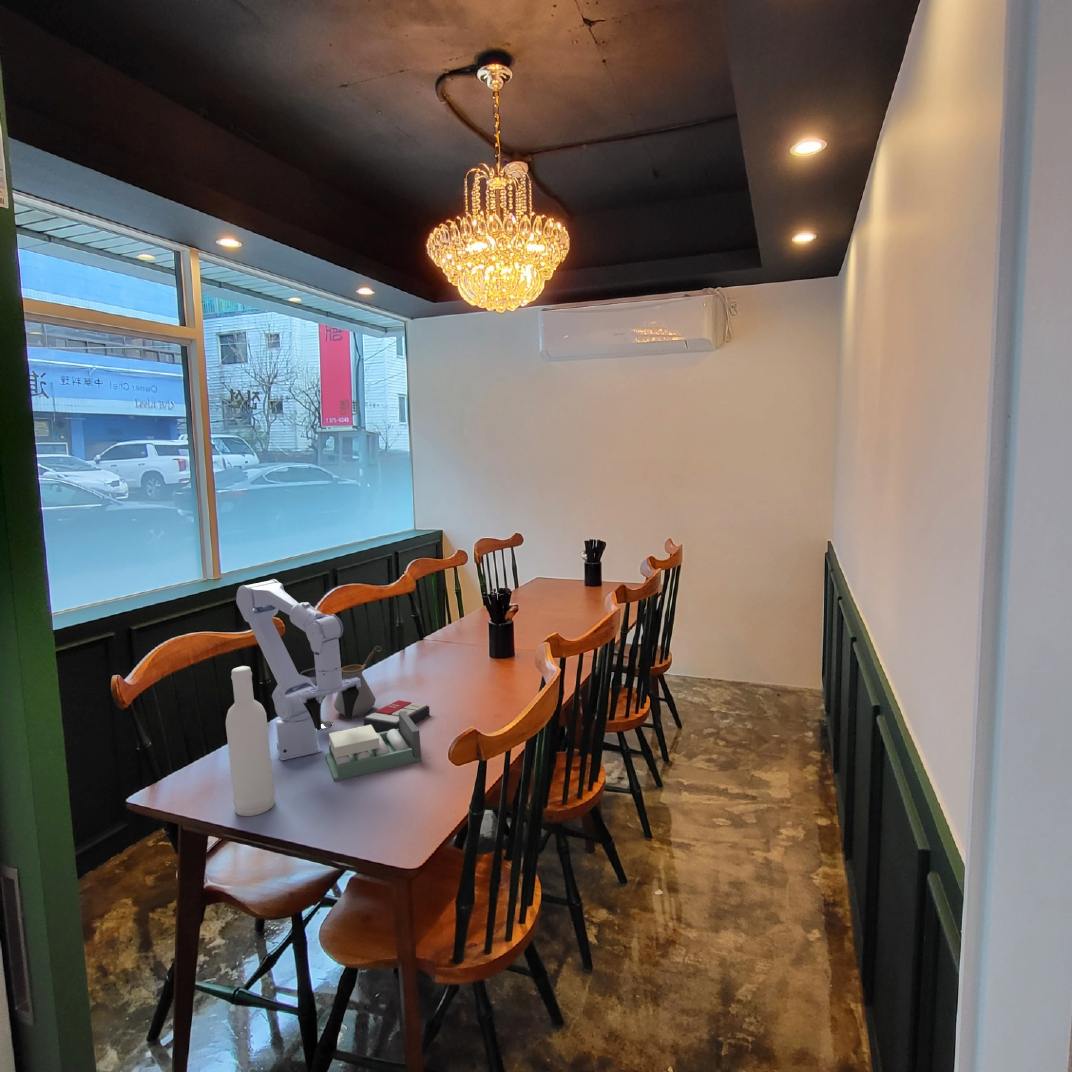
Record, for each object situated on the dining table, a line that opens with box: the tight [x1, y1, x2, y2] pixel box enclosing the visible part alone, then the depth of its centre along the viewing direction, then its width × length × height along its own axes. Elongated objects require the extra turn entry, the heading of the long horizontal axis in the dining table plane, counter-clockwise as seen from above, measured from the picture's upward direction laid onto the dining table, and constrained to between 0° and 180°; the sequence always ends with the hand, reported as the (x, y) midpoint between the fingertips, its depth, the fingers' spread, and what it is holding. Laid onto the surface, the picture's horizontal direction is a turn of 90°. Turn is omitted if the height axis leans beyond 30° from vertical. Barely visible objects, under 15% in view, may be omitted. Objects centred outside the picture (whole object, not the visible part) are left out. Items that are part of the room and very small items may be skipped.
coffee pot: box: [333, 645, 383, 718], centre depth 195 cm, size 21×12×15 cm, turn 164°
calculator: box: [363, 699, 431, 733], centre depth 182 cm, size 11×4×15 cm
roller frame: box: [324, 711, 422, 782], centre depth 161 cm, size 20×14×7 cm
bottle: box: [225, 665, 276, 817], centre depth 139 cm, size 8×8×30 cm
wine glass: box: [300, 667, 334, 730], centre depth 182 cm, size 8×8×15 cm
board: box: [328, 725, 380, 758], centre depth 159 cm, size 10×9×2 cm
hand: (333, 723), depth 159 cm, fingers open, 7 cm apart
